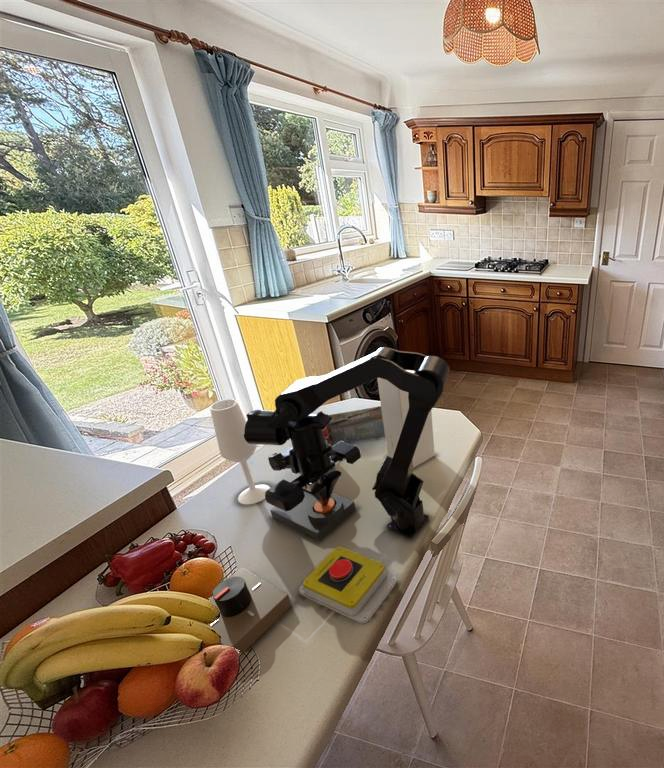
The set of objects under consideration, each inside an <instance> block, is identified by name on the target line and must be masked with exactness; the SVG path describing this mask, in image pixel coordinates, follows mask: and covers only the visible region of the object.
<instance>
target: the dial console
mask: <svg viewBox="0 0 664 768" xmlns="http://www.w3.org/2000/svg"><path fill="white" fill-rule="evenodd" d="M235 576H239V577H242V578H243V579H244V580H245V582H246V585H247V587H248V590H249V592H250V594H251V602H250V604H249V606H248V607H247V608H246V609H245V610H244V611H243V612H241V613H240V614H238V615H235V616H232V617H225V616H223V615H221V613H220V617H219V618H218V619H217V620H215V621H214V622H212V623H210V624H209V625H210V626H211V627H212V628H213V629H214V630H215V631H217V632H218V633H219V635H220V636H221V642H220V644H223V645H227V646H231V647H234V648H236V649H238V650H240V651H239V652H240V653H241V655H243V654H244V653H245V652H247V650H248V649H249V648H250V647H251V646H252V645H253V644H254V643H255V642H256V641H257V640H258V639H260V637H262V635H263V634H264V633H265V632H266V631H267V630H269V628H270V627H272V625H274V623H276V621H277V620H279V619H280V618H281V617H282V616H283V615H284V613H286V612H287V611H288V610H289V609H290V608H291V607H292V602H291V600H290V597H289V594H288V593H286V592H284V591H283V590H281V589H280V588H277V587H276V586H274V585H272V584H271V583H269V582H267V581H266V580H264V579H263V578H261V577H259V576H258V575H256V574H254V573H252V572H251V571H249V570H247V569H246V568H244V567H240V568H239V569H238V570H237V571H235V572H234V573H232V574H231V575H230V576H229V577H228V578H230V577H235ZM208 599H209V600H210V601H211V602H213V604H214V605H215V606H217V605H216V603H215V600H214V598H213V596H212V597H210V598H208ZM217 608H218V607H217ZM219 612H220V611H219Z"/></svg>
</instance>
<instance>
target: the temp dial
mask: <svg viewBox="0 0 664 768" xmlns="http://www.w3.org/2000/svg"><path fill="white" fill-rule="evenodd" d="M229 577H230V576H229ZM229 577H228V578H226V579H224V580H222V581H221V582H219V583H218V584H217V585H216V586H215V588H214V589H213V590H214V591H213V590H212V591H213V598H214V600H215V603H216V605H217V607H218V609H219V611H220V613H221V615H223V616H225V617H232V616H235V615H238V614H240V613H241V612H243V611H244V610H245V609H246V608H247V607H248V606H249V604H250V602H251V594H250V592H249V590H248V587H247V585H246V582H245V580H244V579H243V578H242V577H239V576H235V577H230V578H229Z"/></svg>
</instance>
